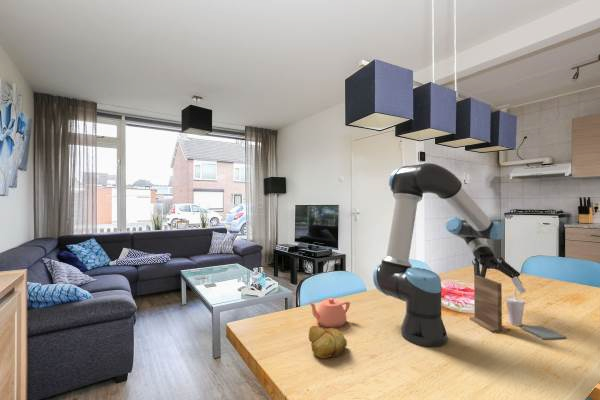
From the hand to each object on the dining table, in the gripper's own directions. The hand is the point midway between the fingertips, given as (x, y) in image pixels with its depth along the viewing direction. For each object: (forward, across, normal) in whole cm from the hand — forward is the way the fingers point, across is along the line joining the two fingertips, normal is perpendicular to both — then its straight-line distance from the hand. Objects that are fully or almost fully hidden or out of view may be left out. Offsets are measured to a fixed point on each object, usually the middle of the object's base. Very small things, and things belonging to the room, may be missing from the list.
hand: (508, 293), depth 117 cm
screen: (+11, +13, -4) cm, 18 cm away
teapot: (+3, +74, -12) cm, 75 cm away
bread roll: (+19, +79, +4) cm, 81 cm away
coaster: (+17, -2, +2) cm, 17 cm away
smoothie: (+11, +1, -4) cm, 12 cm away
